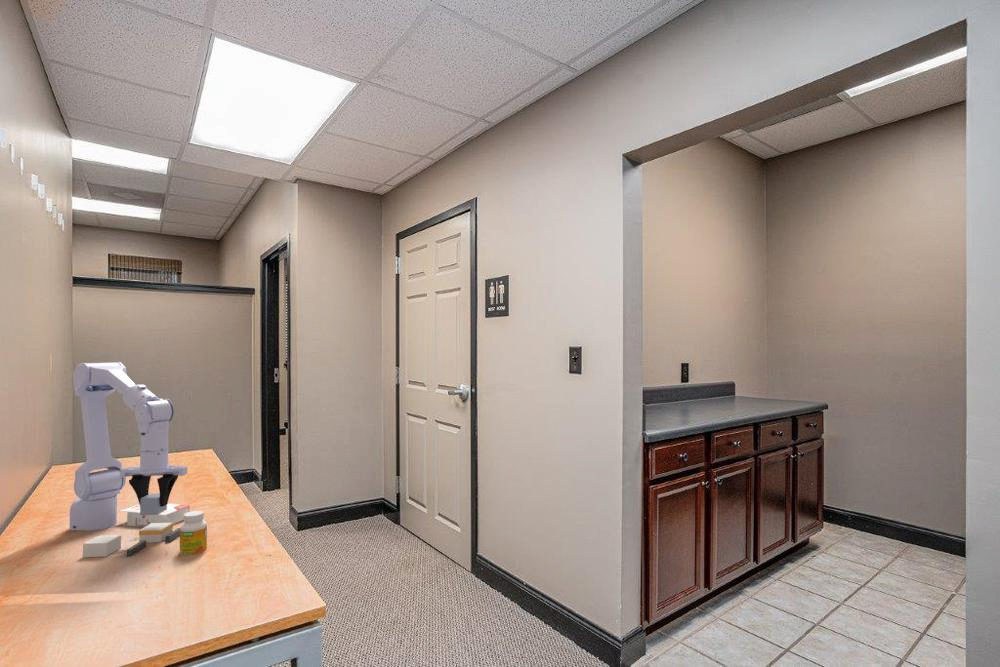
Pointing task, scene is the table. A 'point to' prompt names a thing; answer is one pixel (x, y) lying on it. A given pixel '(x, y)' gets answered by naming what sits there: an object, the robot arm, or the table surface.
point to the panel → (142, 544)
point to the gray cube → (151, 505)
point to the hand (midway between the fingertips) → (153, 505)
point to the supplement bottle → (193, 533)
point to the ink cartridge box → (168, 516)
